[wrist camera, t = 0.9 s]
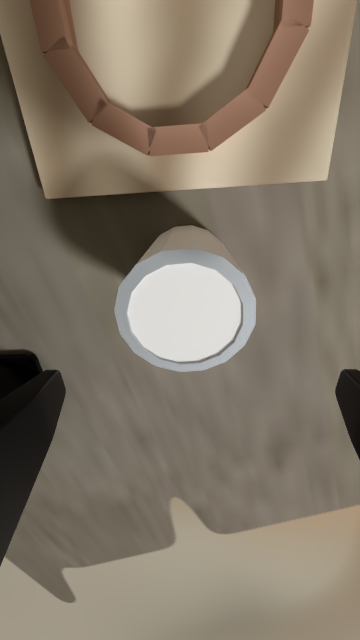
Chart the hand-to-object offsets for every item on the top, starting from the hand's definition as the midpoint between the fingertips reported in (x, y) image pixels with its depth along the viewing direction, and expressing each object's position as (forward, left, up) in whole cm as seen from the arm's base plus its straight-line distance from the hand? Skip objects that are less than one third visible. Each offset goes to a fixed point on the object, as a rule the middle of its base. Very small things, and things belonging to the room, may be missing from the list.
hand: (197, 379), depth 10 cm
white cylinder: (0, -1, -12) cm, 12 cm away
